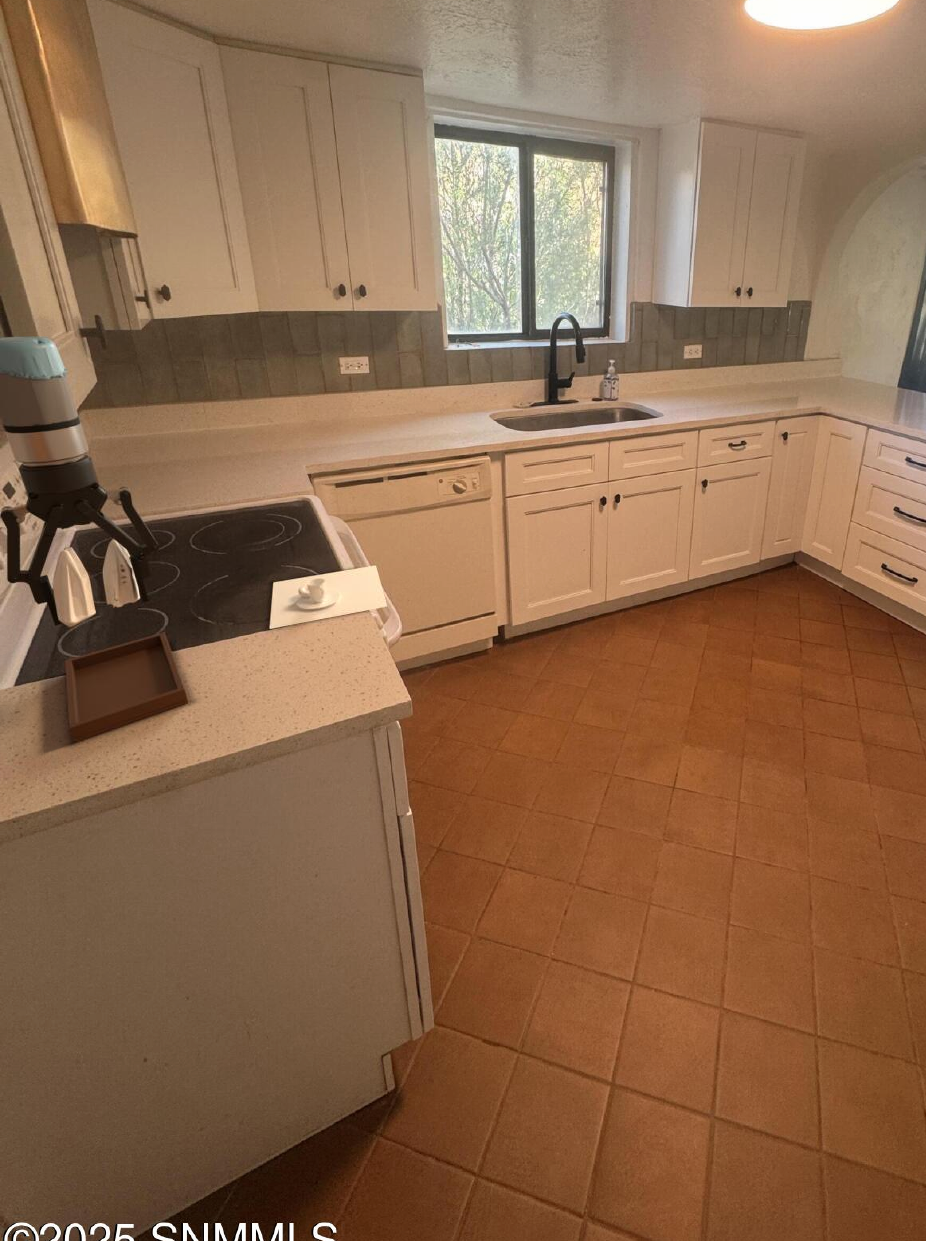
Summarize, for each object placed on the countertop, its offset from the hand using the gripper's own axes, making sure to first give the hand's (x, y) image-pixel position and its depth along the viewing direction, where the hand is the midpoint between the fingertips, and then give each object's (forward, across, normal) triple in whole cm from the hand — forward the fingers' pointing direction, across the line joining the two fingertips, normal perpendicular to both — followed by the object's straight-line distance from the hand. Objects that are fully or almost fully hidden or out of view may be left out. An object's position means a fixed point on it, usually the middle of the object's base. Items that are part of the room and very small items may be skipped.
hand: (103, 609), depth 90 cm
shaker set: (+1, 0, 0) cm, 1 cm away
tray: (+13, 0, 0) cm, 13 cm away
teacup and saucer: (+14, -33, -11) cm, 38 cm away
